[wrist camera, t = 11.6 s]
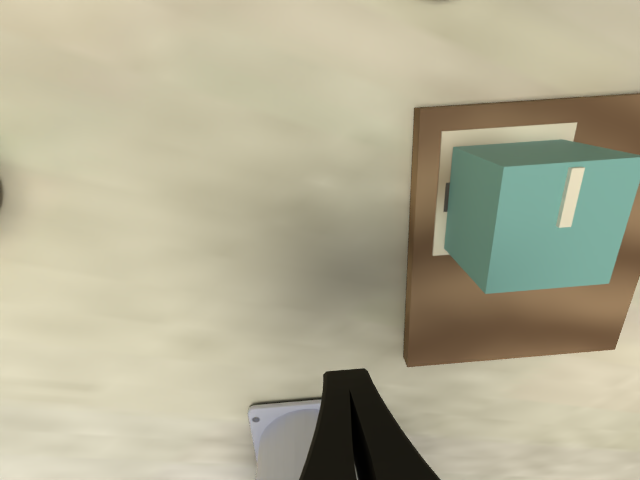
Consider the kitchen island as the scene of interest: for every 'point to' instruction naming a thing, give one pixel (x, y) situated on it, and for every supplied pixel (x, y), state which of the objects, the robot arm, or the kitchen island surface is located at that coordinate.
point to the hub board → (520, 306)
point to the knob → (539, 213)
